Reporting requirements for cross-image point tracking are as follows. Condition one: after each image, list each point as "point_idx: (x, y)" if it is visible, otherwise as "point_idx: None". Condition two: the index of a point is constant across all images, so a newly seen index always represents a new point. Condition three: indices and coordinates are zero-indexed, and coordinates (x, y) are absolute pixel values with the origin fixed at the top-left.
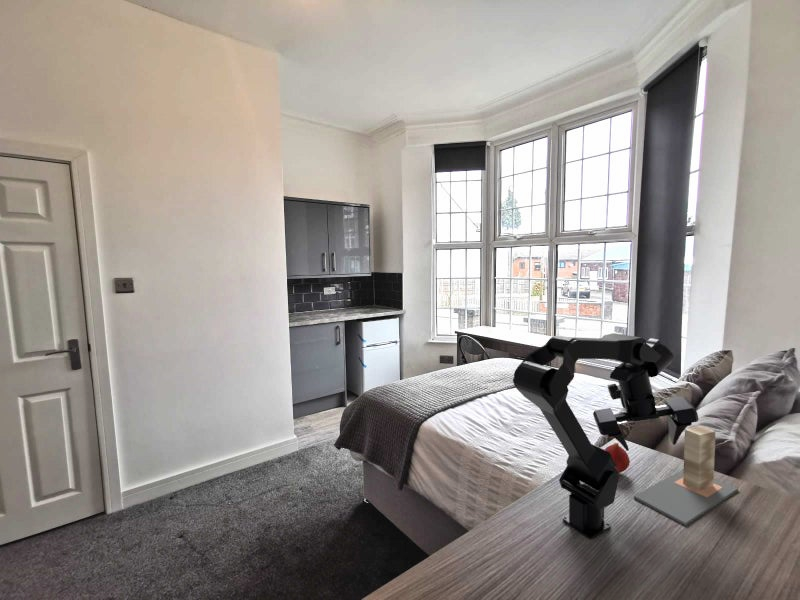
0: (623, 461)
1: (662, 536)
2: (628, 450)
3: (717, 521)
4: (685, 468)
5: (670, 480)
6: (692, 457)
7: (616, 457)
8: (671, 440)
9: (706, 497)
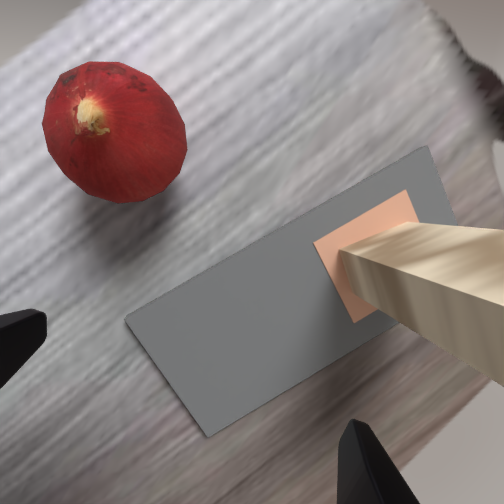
0: (127, 198)
1: (117, 474)
2: (39, 346)
3: (305, 406)
4: (372, 267)
5: (310, 228)
6: (425, 313)
7: (85, 186)
8: (348, 456)
9: (352, 323)
